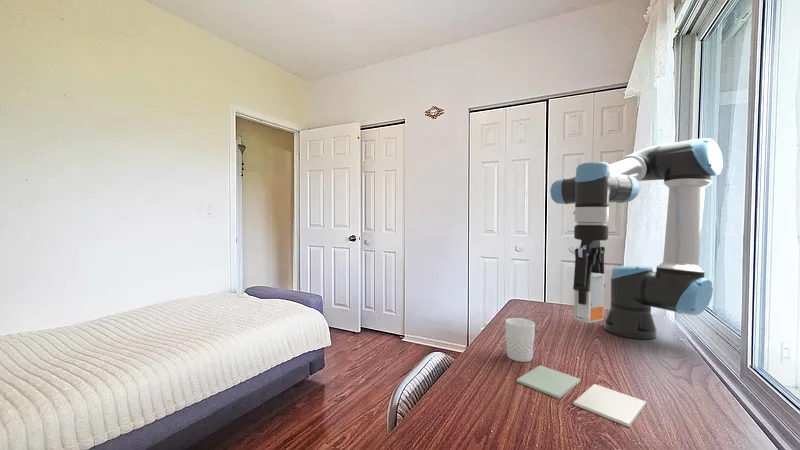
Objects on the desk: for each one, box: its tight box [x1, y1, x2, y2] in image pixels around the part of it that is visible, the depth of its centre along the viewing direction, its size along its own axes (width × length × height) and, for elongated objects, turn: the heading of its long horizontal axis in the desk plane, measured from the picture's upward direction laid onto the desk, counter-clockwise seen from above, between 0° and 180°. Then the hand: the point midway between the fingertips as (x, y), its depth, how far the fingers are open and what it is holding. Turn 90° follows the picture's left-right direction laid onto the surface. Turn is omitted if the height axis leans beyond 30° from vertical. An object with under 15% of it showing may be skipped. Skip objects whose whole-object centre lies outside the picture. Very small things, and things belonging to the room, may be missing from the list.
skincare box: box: [573, 272, 606, 324], centre depth 86 cm, size 6×4×12 cm
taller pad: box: [573, 383, 647, 428], centre depth 71 cm, size 12×10×1 cm
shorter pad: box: [516, 364, 582, 400], centre depth 81 cm, size 12×10×1 cm
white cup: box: [505, 317, 536, 363], centre depth 95 cm, size 8×8×10 cm
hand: (588, 314), depth 86 cm, fingers closed on skincare box, 7 cm apart
